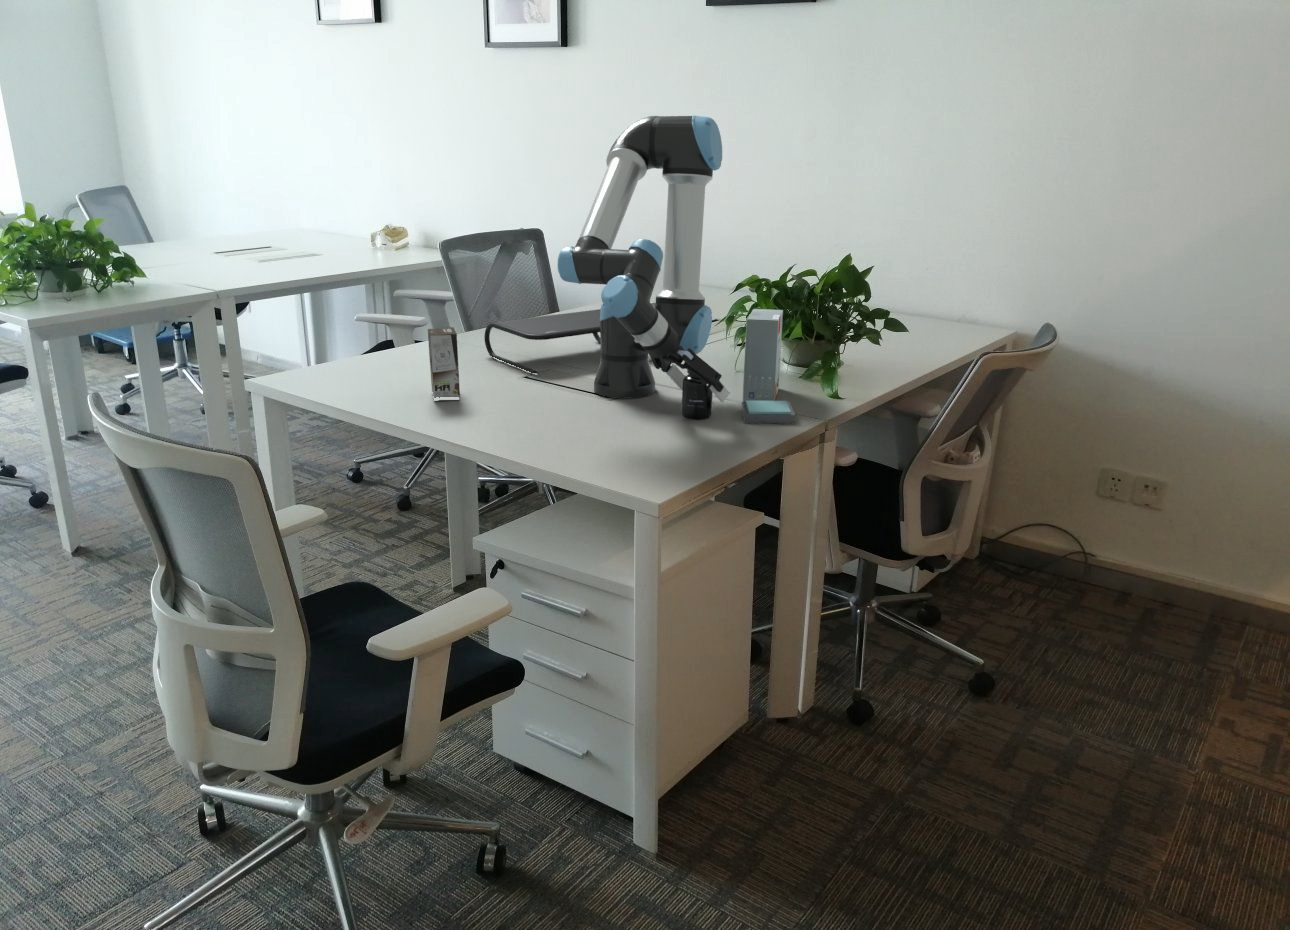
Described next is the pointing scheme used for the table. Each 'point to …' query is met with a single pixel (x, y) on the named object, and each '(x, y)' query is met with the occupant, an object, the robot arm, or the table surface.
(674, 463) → the table surface
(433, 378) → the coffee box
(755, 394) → the hard drive box
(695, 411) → the supplement bottle
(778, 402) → the scale plate
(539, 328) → the monitor stand
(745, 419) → the scale base
